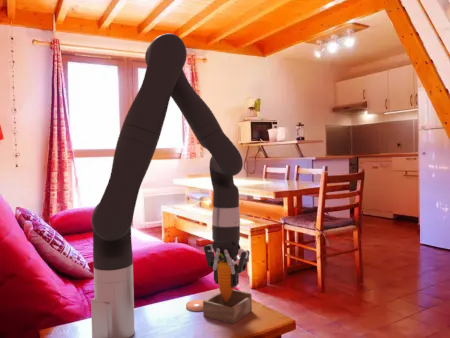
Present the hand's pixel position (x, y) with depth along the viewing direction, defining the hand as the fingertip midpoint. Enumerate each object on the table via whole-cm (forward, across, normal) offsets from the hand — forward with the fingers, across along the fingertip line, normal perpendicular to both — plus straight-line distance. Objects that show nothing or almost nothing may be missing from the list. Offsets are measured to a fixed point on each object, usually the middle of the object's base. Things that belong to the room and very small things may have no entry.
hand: (226, 284), depth 103 cm
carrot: (+5, 0, 0) cm, 5 cm away
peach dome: (+8, -10, 0) cm, 13 cm away
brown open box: (+8, 0, 0) cm, 8 cm away
